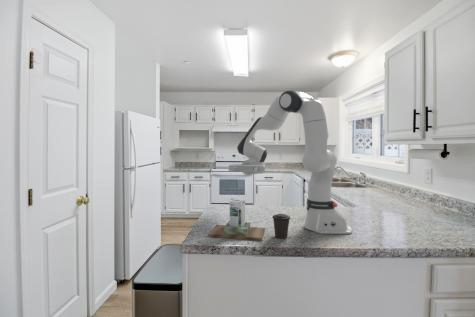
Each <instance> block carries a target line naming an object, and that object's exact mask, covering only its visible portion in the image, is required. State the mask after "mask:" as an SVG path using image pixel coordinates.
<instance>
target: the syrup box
mask: <svg viewBox="0 0 475 317" xmlns="http://www.w3.org/2000/svg"><path fill="white" fill-rule="evenodd" d="M229 221H230V226H229V227H241V228H244V227H245V222H246V200H245V199H236V198H233V199H231V200H229Z"/></svg>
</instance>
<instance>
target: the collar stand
mask: <svg viewBox="0 0 475 317" xmlns="http://www.w3.org/2000/svg"><path fill="white" fill-rule="evenodd" d="M229 226H230V220H228V222H227V223H226V224H216V225H215V226H214V227H213V228H212V229H211V230H210V232H209V233H208V238H221V239H234V240H246V241H257V242H258V241H260V242H262V241H263V238H264V235H265V230H266V228H265V227H257V226H256V227H255V226H251V221H245V227H244V228H241V227H229Z"/></svg>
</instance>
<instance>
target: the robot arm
mask: <svg viewBox="0 0 475 317" xmlns="http://www.w3.org/2000/svg"><path fill="white" fill-rule="evenodd" d="M290 113H293V114H300V115H301V118H302V124H303V132H304V140H305V143H304V144H305V145H304V154H303V157H302V163H301V164H302V166H303V168H304V169H305V170H306V171H307V172H310V173H311V175H310V179H309V181H308V184H307V198H306V215H305V216H306V217H305V221H304V224H303V227H304V229H307V230H310V231H312V232H315V233H317V234H324V235H325V234H326V235H327V234H328V235H330V234H331V235H332V234H334V235H335V234H336V235H337V234H338V235H349V234H352V232H353V230H352V227H351V226H350V225H349V224H348V222H347V219H346V218H347V217H345V215H344V214H343V213H342V212H340V211H339V210H338V209H336V208H337V207H338V204H337V202H336V201H334V200H332V185H333V179H334V173H335V169H336V165H337V160H338V159H337V156H336V154H335V153H334V152H333V151H331V150H329V149H328V139H329V130H328V124H327V117H326V113H325V109H324V106H323V104H322V102H321V100H317V99H314V97H313V96H312V95H311V94H309V93H304V92H303V91H297V90H286V91H283V92H282V93H281V95H280V96H277V97H275V98H274V99H273V101H272V103H271V104H270V106H269V108H268V109H267V111H266V113H265V114H264V115H263V116H262V117H261V116H260V117H258V118H257V119H256V120H255V121H254V122H253V124H252V125H251V127H249V129H248V131H247V132H246V133H245V135H244V137H243V138H242V139H241V140H239V142H238V144H237V146H236V147H237V148H236V149H237V152H238V153H239V154H240V155H241V156H245V157H247V158H248V159H246V160H244V161H242V162H241V164H237V163H236V164H234V163H233V164H229V165H228V172H231V173H232V172H235V173H239V172H240V173H243V174H244V175H246V176H252V175H258V174H265V172H266V164H265V161H266V159H267V156H268V152H267V149H266V148H265V147H263V146H261V145H260V144H257V143H256V142H253V141H252V138H253V136H255V134H256V133H257V131H259V130H260V131H261V130H263V131H277V130H280V129H281V127H282V126H283V125H284V123H285V121H286V119H287V117H288V116H289V114H290Z"/></svg>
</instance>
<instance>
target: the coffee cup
mask: <svg viewBox="0 0 475 317" xmlns="http://www.w3.org/2000/svg"><path fill="white" fill-rule="evenodd" d="M272 219H273V228H274V237H275V238H276V239H281V240H285V239H287V238H288V233H289V225H290V219H291V216H290V215H288V214H284V213H277V214H273V215H272Z"/></svg>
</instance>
